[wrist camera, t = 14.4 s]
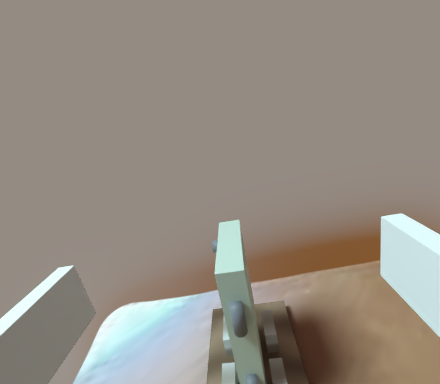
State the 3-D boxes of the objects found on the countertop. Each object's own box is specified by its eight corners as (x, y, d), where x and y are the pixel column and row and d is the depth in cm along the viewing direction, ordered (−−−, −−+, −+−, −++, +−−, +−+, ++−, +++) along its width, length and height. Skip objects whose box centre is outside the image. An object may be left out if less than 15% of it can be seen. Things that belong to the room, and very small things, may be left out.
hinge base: (338, 492, 19) (337, 460, 18) (201, 498, 21) (189, 469, 19) (284, 307, 39) (281, 285, 37) (214, 316, 40) (209, 295, 38)
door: (272, 425, 23) (244, 278, 18) (236, 428, 24) (199, 284, 18) (258, 330, 34) (239, 219, 29) (234, 333, 34) (209, 224, 29)
